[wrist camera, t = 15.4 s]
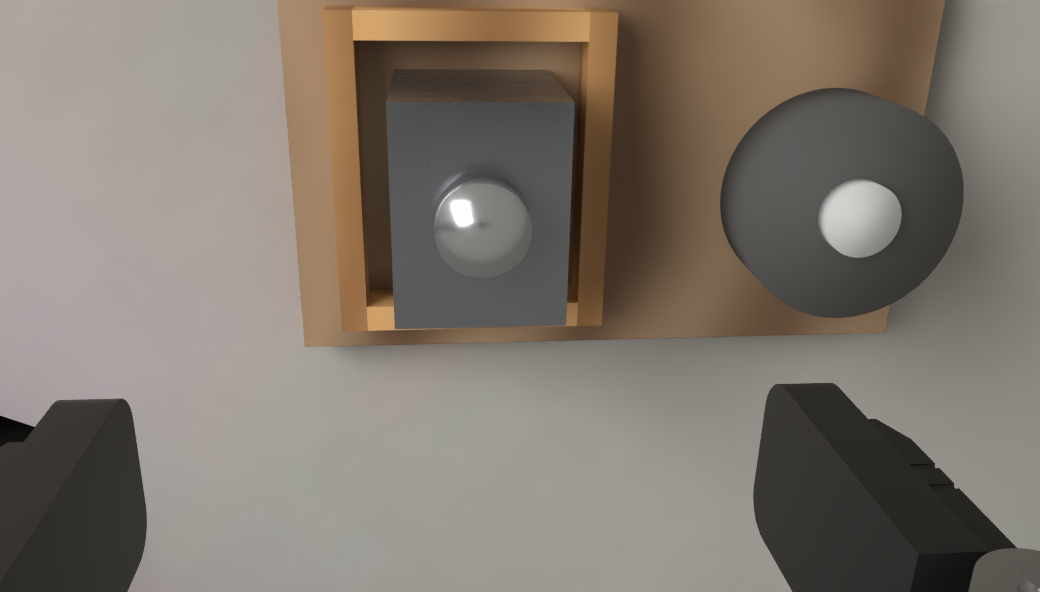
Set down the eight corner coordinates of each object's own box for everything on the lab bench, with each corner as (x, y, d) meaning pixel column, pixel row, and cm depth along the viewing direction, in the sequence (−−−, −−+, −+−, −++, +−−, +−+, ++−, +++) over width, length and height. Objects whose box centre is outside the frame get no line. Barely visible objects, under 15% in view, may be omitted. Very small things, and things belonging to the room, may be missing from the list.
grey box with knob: (400, 259, 29) (393, 345, 23) (393, 69, 27) (384, 110, 21) (542, 257, 30) (571, 340, 24) (547, 69, 28) (581, 109, 22)
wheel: (710, 291, 27) (740, 329, 25) (731, 87, 25) (765, 106, 22) (902, 287, 28) (951, 324, 25) (940, 87, 26) (997, 105, 23)
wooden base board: (310, 328, 32) (292, 389, 27) (282, -42, 27) (255, -36, 23) (865, 315, 33) (928, 370, 29) (925, -33, 29) (1009, -26, 25)
